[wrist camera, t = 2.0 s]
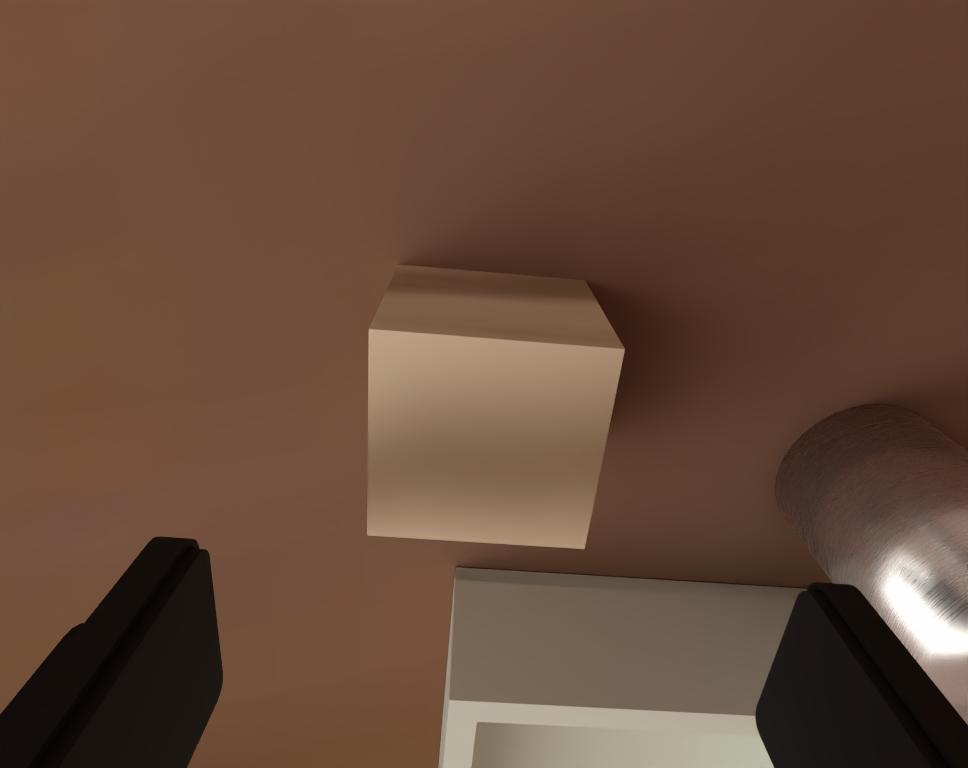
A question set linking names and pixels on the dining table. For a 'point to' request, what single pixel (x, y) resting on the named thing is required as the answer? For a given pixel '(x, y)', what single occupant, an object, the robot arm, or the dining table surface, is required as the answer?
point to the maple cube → (488, 407)
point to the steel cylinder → (890, 527)
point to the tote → (607, 671)
